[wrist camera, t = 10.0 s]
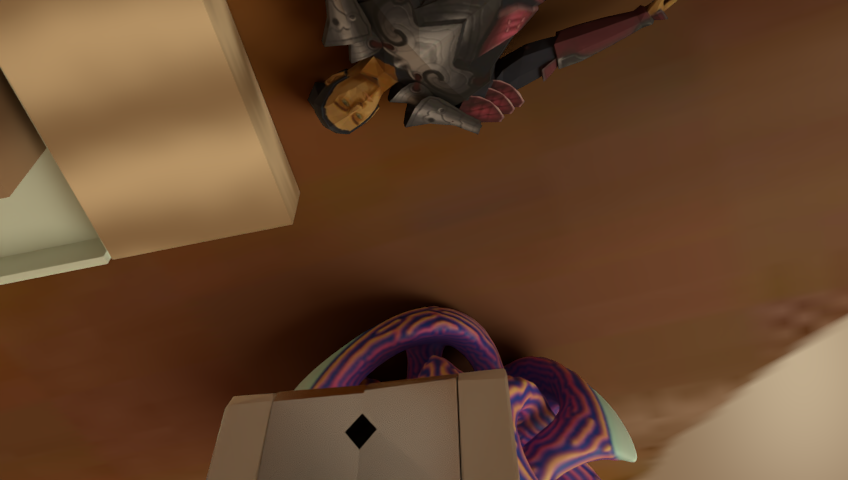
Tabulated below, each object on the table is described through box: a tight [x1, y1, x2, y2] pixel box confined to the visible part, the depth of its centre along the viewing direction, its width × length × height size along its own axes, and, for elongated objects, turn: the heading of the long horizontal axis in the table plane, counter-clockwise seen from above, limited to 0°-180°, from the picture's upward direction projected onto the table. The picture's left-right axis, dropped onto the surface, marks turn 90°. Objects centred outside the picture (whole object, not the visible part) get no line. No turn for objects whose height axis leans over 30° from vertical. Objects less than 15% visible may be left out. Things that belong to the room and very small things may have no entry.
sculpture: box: [294, 306, 637, 480], centre depth 46 cm, size 16×17×20 cm
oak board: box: [0, 0, 300, 260], centre depth 39 cm, size 16×10×3 cm, turn 13°
